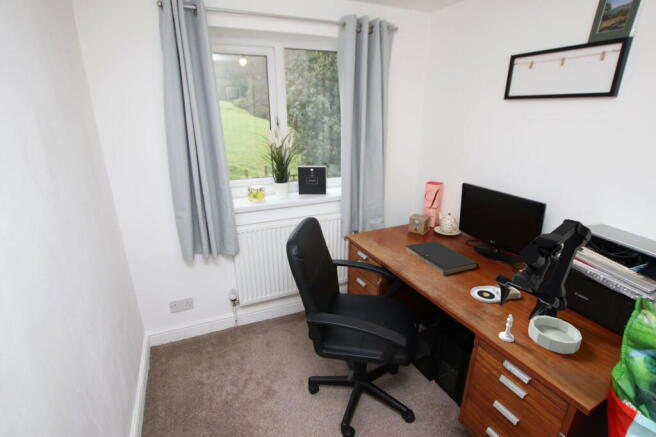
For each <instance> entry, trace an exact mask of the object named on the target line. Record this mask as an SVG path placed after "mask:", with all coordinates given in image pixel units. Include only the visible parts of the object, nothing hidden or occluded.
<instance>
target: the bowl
mask: <svg viewBox="0 0 656 437" xmlns="http://www.w3.org/2000/svg"><path fill="white" fill-rule="evenodd" d="M528 336H529V337H530V339H532V341H534V343H536V344H537V345H538V346H541V347H542V348H544V349H546V350H548V351H551V352H555V353H559V354H562V355H565V354H575V353H576V352H577V351H578V350H579V349H580V346H581V343H582V339H583V336H582V334H581V332H580V330H579V329H577V328H576V327H575V326H574V325H572V324H571V323H569V322H567V321H564V320H563V319H560V318H558V317H557V318H554V317H549V316H538V315H536V316H535V317H534V318H533V319H531V320H529V324H528Z"/></svg>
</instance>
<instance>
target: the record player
mask: <svg viewBox="0 0 656 437" xmlns="http://www.w3.org/2000/svg"><path fill="white" fill-rule="evenodd" d="M509 289H511V291H510V293H509V295H508V297H507V299H506V301H507V300H513V299H520V298H521V296H522V293H521V292H520V290H518V289H515V288H513V287H509ZM470 295H471V297H472V298H474V299H475V300H477V301H480V302H483V303H487V304H488V303H489V304H493V303H500V299H501V290H500V286H499V285H498V284H497V283H496V284H494V285H482V286H481V285H480V286H475V287H472V288H471V289H470Z"/></svg>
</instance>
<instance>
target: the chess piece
mask: <svg viewBox="0 0 656 437" xmlns="http://www.w3.org/2000/svg"><path fill="white" fill-rule="evenodd" d="M506 320H507V323H505V325H506V329H505V331H501V332H499V334H498V337H499V338H500V339H501V340H502V341H503V342H505V343H513V342H515V337H514V335H513V334H511V328H513V322H514V317H513V315H512V314H509V315H508V317H507V319H506Z"/></svg>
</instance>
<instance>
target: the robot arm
mask: <svg viewBox="0 0 656 437" xmlns="http://www.w3.org/2000/svg"><path fill="white" fill-rule="evenodd" d="M592 235H593V233H592V230H591V229H590V228H589V227H587V226H586V225H584V224H583V223H582V222H580V221H579V220H574V219H570V218H567V219H566V218H565V219H563V221H562V223H561V224H560V225H559V226H557V227H556V228H554V229H553V230H552V231H550V232H548V233H542V234H540V235H538V236H537V237H535V238H534V239H533V240H532V241H531V242H530V243H529V244H528V245H527V246H526V247H524V248H522V249H521V250H520V251H519V253H518V258H519V260H520V262H522V263H523V265H525V267H524V269H522V270H521V272H520V273H514V274H513V277H512V279H511V278H510V277H508V276H505V275H502V274H497V275H496V276H495V278H494V281H495V282H496V284H498V285H499V286H500V290H501V299H500V302H499V306H500V307H504V305H505V304H506V301H507V300H508V299H507V297H508V295H509V293H510V291H511V289H509V287H513V288H515V289H516V290H518V291H519V292H520V291H521V292H522V293H526V294H528V295H530V296H531V297H534V298H536V303H535V306H534V308H533V309H532V310H531V312H530V313H529V316H528V319H527V320H528V321H530V320H531V319H533V318H534V317H535V316H549V317H554V318H558V315H559V312H561V311H562V312H563V311H566V308H567V304H568V301H567V299H566V294H567V293H566V292H567V291H566V288H565V283H566V280H567V278H568V276H569V273H570V269H571V268H572V265H573V263H574V260H575V258H576V255H577V253H578V251H579V250H580V249H581V248H583V247H585V246H586V245H587V243H588V242H589V241H590V240H591V239H592ZM562 244H563V245H562ZM558 255H559V256H558ZM557 256H558V259H557V261H556V263H555V266H554V269H553V272H552V274H551V276H550V278H549V280H548V281H546V282H544V283H543V284H541V283H542V282H543V281H544V279H543V278H544V276H545V274H546V272H547V271H548V268H549V266H550V264H551V259H550V258H552V259H553V258H555V257H557ZM540 285H541V287H540ZM506 299H507V300H506Z"/></svg>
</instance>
